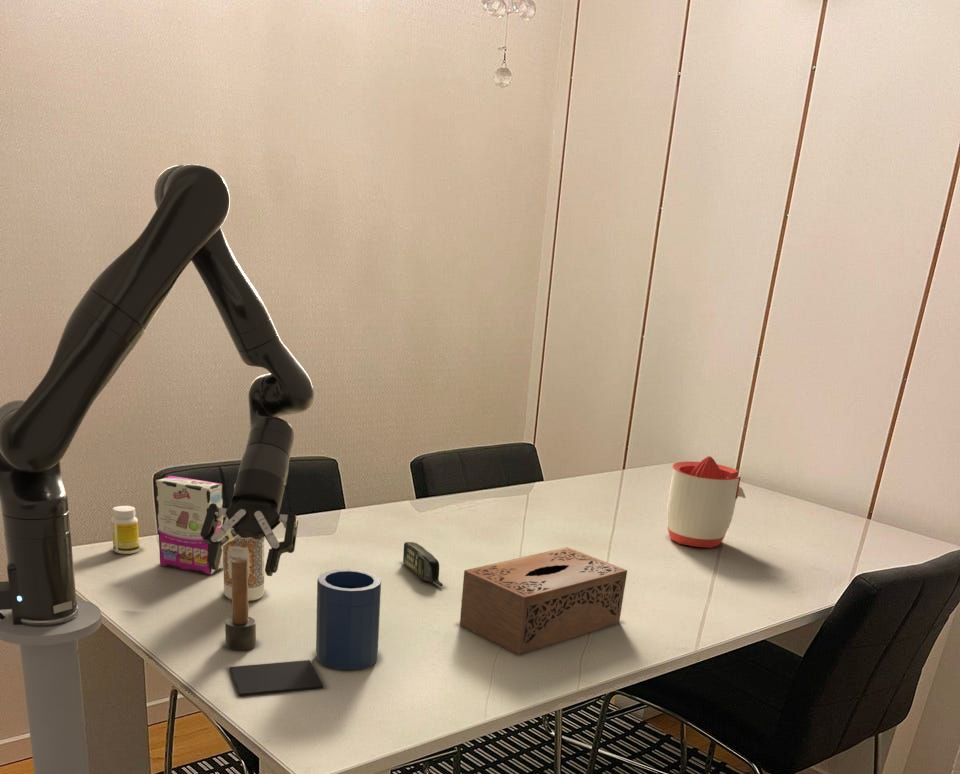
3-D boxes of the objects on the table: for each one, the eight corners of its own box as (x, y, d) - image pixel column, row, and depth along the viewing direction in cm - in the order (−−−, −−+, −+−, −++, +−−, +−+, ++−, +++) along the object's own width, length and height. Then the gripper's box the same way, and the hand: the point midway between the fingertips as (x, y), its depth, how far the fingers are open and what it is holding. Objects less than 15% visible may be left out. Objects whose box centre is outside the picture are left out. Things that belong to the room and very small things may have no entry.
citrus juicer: (738, 556, 217) (756, 469, 209) (661, 546, 219) (675, 459, 211) (733, 536, 232) (749, 454, 224) (660, 527, 234) (673, 445, 226)
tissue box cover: (518, 654, 158) (524, 597, 154) (459, 624, 167) (464, 570, 163) (619, 622, 174) (627, 570, 170) (560, 597, 184) (567, 547, 180)
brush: (228, 651, 149) (226, 566, 144) (223, 640, 153) (221, 556, 148) (258, 649, 151) (257, 564, 146) (253, 637, 155) (252, 554, 149)
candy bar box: (225, 568, 183) (224, 483, 176) (211, 575, 179) (209, 489, 172) (173, 557, 186) (170, 473, 179) (158, 565, 181) (154, 479, 175)
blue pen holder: (324, 673, 145) (326, 592, 140) (310, 647, 153) (311, 570, 148) (384, 667, 149) (388, 588, 144) (367, 643, 157) (370, 567, 152)
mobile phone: (401, 540, 192) (433, 563, 180) (415, 539, 193) (447, 561, 181) (400, 564, 194) (431, 588, 182) (414, 563, 195) (446, 586, 183)
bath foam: (218, 599, 168) (215, 487, 160) (231, 586, 175) (229, 477, 167) (257, 604, 168) (256, 492, 160) (269, 590, 174) (269, 481, 166)
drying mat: (239, 696, 136) (239, 693, 136) (229, 669, 144) (229, 666, 144) (323, 688, 141) (323, 685, 141) (309, 662, 148) (309, 660, 148)
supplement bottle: (144, 550, 188) (142, 508, 185) (125, 556, 184) (122, 513, 181) (127, 544, 190) (125, 503, 187) (108, 550, 186) (105, 508, 183)
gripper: (211, 462, 151) (188, 555, 145) (302, 471, 150) (282, 565, 144) (223, 487, 158) (201, 576, 152) (309, 496, 157) (291, 586, 151)
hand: (241, 570), depth 148 cm, fingers open, 8 cm apart
